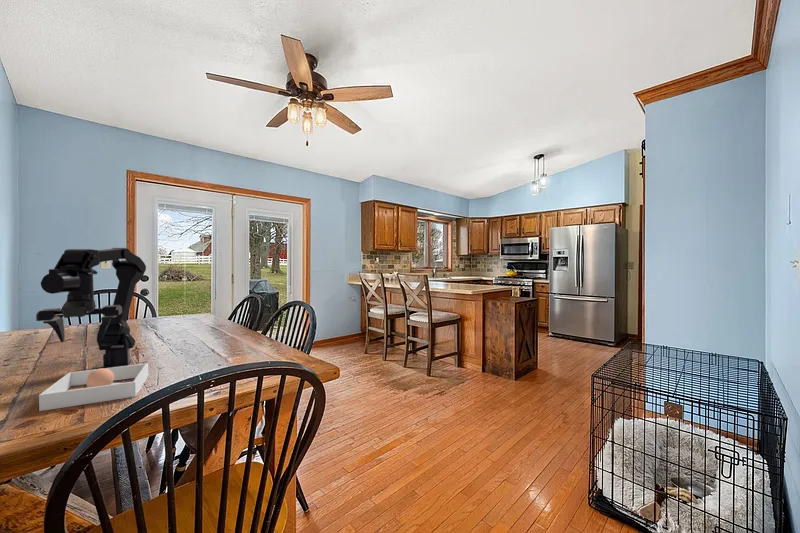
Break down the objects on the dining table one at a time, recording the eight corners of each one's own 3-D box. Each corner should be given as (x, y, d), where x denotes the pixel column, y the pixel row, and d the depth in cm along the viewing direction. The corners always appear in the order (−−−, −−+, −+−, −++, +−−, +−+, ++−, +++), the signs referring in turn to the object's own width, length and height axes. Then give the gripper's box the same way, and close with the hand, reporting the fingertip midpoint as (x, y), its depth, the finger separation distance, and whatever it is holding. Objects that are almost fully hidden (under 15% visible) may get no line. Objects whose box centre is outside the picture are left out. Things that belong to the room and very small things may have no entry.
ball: (117, 384, 102) (116, 364, 102) (111, 391, 97) (110, 370, 96) (90, 388, 99) (89, 367, 99) (83, 395, 94) (82, 373, 94)
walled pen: (148, 375, 111) (148, 363, 111) (135, 396, 94) (135, 381, 94) (69, 385, 102) (69, 372, 102) (39, 411, 85) (38, 395, 85)
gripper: (26, 294, 94) (28, 350, 94) (113, 290, 103) (115, 342, 103) (43, 290, 103) (45, 341, 104) (121, 287, 112) (123, 334, 113)
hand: (82, 340), depth 106 cm, fingers open, 9 cm apart
